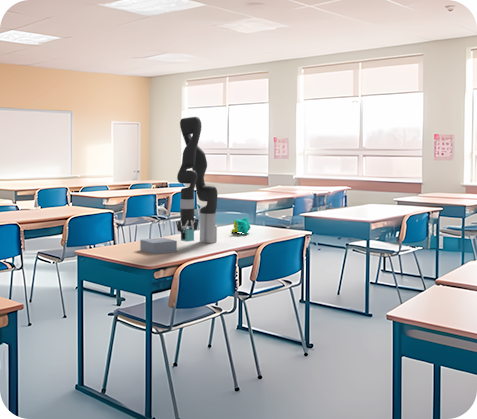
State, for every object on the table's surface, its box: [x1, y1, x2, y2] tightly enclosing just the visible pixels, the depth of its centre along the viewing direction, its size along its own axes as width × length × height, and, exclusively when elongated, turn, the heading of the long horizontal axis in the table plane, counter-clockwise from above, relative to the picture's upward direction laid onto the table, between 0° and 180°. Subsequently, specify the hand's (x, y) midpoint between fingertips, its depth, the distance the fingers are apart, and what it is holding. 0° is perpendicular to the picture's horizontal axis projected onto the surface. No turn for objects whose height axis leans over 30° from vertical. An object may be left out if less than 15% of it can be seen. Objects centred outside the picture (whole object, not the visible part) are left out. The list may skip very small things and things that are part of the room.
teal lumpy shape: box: [231, 216, 252, 234], centre depth 355 cm, size 15×12×13 cm
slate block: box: [139, 237, 178, 255], centre depth 285 cm, size 14×14×6 cm
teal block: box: [180, 228, 195, 242], centre depth 290 cm, size 5×5×6 cm
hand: (187, 238), depth 290 cm, fingers closed on teal block, 5 cm apart
